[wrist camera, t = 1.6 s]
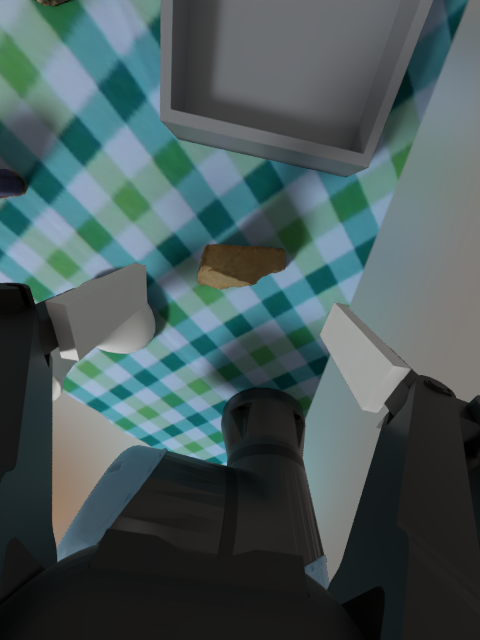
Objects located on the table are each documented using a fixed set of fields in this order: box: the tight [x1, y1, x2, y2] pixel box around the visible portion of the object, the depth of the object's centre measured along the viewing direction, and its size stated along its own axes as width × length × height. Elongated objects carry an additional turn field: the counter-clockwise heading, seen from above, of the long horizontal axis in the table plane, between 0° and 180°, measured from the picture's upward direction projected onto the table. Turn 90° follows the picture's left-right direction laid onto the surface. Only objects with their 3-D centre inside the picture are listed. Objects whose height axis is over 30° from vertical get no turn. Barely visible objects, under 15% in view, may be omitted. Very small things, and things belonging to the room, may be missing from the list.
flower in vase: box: [50, 279, 156, 401], centre depth 19 cm, size 13×11×25 cm
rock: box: [197, 244, 285, 290], centre depth 23 cm, size 11×9×10 cm
